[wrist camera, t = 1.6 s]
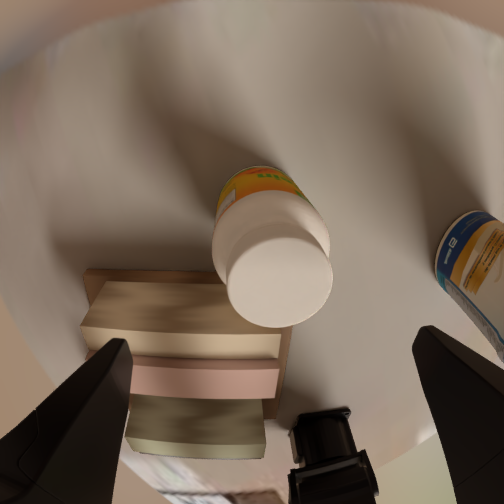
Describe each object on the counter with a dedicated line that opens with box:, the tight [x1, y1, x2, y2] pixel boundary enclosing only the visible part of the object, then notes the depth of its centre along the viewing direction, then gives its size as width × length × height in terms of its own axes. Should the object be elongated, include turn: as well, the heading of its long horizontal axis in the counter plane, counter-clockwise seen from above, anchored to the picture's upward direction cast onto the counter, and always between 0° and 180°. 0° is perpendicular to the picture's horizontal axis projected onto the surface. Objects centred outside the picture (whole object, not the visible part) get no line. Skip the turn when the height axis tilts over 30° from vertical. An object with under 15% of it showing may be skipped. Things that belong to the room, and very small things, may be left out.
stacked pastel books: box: [80, 269, 293, 460], centre depth 22 cm, size 16×18×7 cm
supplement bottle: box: [212, 166, 333, 328], centre depth 15 cm, size 5×5×10 cm
